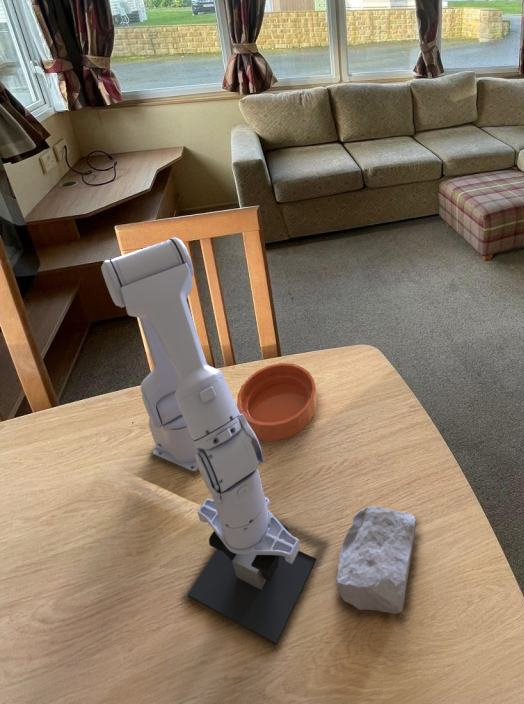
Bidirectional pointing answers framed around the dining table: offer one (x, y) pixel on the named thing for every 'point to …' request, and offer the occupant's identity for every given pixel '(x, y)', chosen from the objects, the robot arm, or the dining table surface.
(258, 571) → the block
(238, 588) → the mat
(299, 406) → the bowl
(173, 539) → the dining table surface
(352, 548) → the stone block
